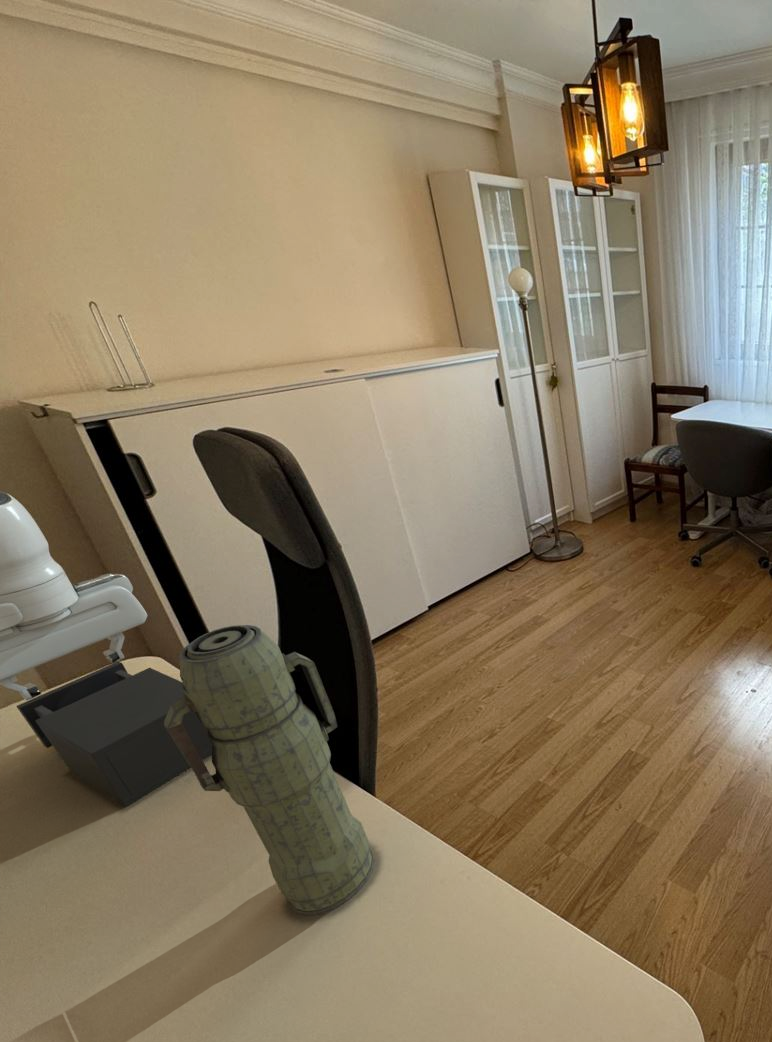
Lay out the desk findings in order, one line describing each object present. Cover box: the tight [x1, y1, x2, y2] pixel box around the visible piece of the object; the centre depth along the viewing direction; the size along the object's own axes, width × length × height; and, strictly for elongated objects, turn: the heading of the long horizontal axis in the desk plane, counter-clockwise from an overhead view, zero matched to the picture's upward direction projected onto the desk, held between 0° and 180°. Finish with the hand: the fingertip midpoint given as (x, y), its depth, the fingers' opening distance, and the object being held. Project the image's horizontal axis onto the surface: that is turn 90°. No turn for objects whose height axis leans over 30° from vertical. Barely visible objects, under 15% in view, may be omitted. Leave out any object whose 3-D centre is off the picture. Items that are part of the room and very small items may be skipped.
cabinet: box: [35, 667, 212, 808], centre depth 83 cm, size 16×13×10 cm
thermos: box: [164, 624, 375, 916], centre depth 60 cm, size 9×12×35 cm
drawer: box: [16, 660, 132, 749], centre depth 88 cm, size 19×12×8 cm, turn 67°
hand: (76, 677), depth 85 cm, fingers open, 8 cm apart
